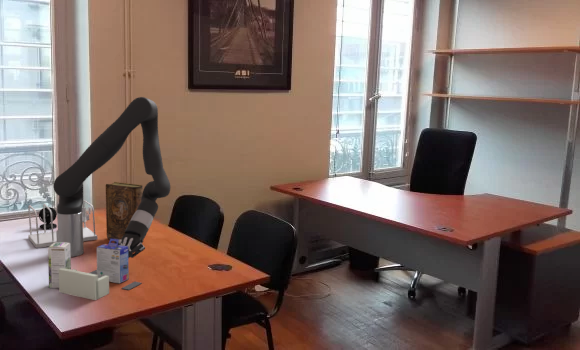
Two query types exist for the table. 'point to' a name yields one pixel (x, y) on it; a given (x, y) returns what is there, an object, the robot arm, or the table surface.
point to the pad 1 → (94, 272)
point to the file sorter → (50, 237)
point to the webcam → (47, 218)
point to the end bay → (83, 284)
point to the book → (121, 207)
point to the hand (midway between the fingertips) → (119, 266)
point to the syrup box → (58, 261)
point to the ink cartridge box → (113, 261)
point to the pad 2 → (131, 285)
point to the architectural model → (85, 215)
